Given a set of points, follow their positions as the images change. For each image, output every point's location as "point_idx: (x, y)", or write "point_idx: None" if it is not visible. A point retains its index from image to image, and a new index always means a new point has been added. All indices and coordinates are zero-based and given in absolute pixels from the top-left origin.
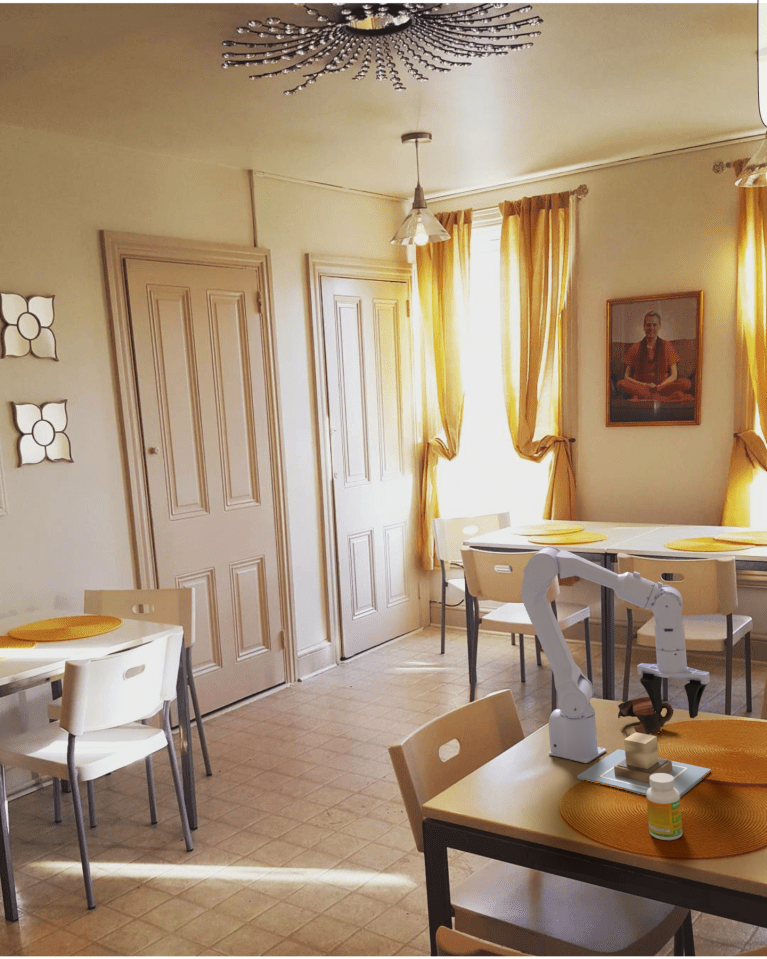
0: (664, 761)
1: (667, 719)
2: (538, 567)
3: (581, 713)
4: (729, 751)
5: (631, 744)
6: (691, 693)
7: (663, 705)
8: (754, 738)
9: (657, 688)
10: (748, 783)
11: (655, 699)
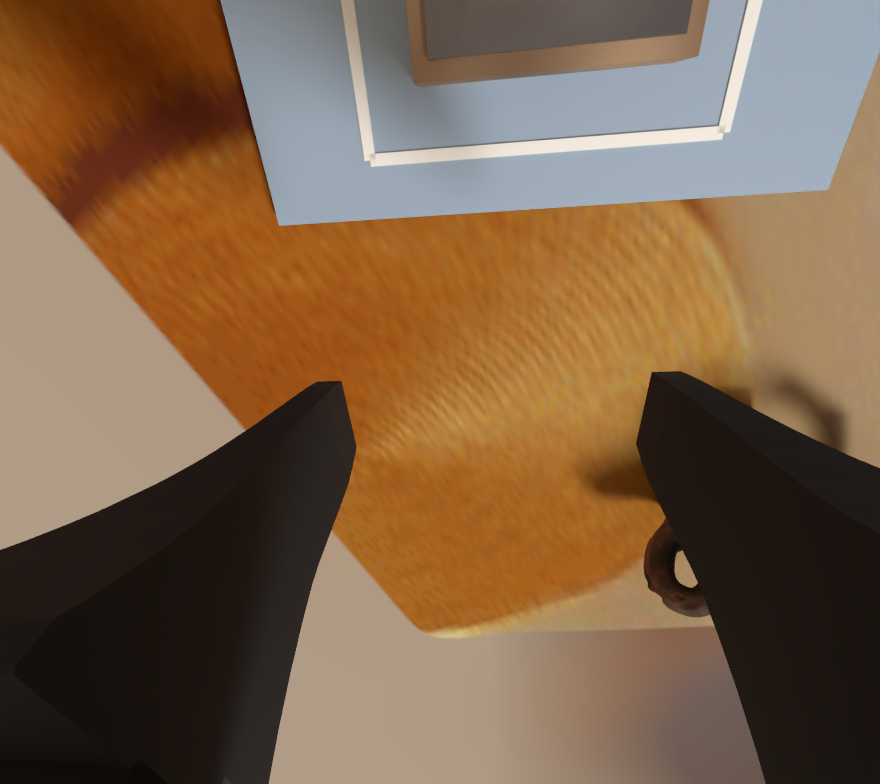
0: (434, 17)
1: (656, 535)
2: None
3: None
4: (361, 442)
5: None
6: (85, 539)
7: (698, 594)
8: (362, 549)
9: (757, 600)
10: (97, 202)
11: (715, 448)
